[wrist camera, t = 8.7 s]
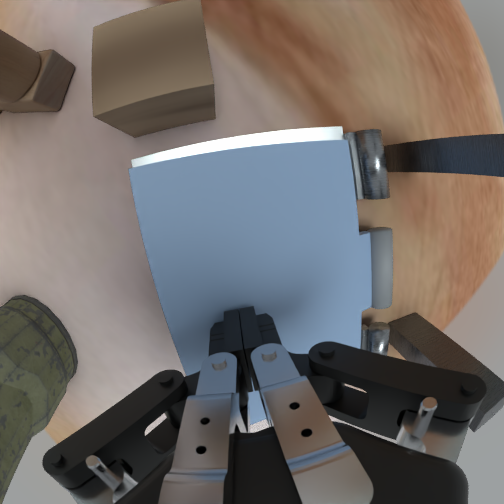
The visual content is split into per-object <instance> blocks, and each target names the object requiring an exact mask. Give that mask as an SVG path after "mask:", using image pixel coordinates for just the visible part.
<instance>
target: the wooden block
mask: <svg viewBox="0 0 504 504" xmlns="http://www.w3.org/2000/svg"><path fill="white" fill-rule="evenodd" d="M74 68H75V66H74V65H73V64H72V63H70V62H69V61H68V60H66V59H65V58H64V57H62V56H61V55H60V54H58V53H57V52H56V51H54V50H45V51H40V52H36V51H34V50H33V49H31V48H30V47H28V46H26V45H25V44H23V43H22V42H20V41H18V40H17V39H15V38H13V37H12V36H10V35H8V34H7V33H5V32H3V31H2V30H0V113H1V111H2V110H5V111H9V112H12V113H17V112H41V111H58V110H59V109H60V108H61V104H62V101H63V98H64V95H65V92H66V90H67V87H68V84H69V81H70V79H71V76H72V74H73V71H74Z"/></svg>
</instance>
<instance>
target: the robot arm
mask: <svg viewBox="0 0 504 504" xmlns="http://www.w3.org/2000/svg"><path fill="white" fill-rule="evenodd" d="M239 312H240V314H239ZM251 378H252V379H251ZM252 382H253V385H252ZM344 384H348V385H351V386H354V387H357V388H360V389H363V390H364V391H366V392H367V393H365V392H362V391H359V390H356V389H353V388H350V387H347V386H344ZM253 386H254V390H255V391H259V394H260V398H261V403H262V406H263V409H264V413H265V416H266V419H267V422H268V425H269V428H266V429H264V430H261V431H258V432H255V433H250V406H249V402H248V401H249V395H248V392H253ZM486 391H487V387H486V384H485V382H484V381H483V380H482V379H481V378H480V377H479V376H477V375H474V374H469V373H463V372H458V371H453V370H448V369H443V368H438V367H433V366H428V365H424V364H419V363H415V362H410V361H406V360H402V359H398V358H394V357H390V356H386V355H382V354H378V353H374V352H370V351H366V350H363V349H359V348H355V347H352V346H348V345H345V344H341V343H338V342H333V341H325V342H320V343H318V344H315V345H314V346H312V347H311V348H310V350H309V352H308V354H295V353H291V352H288V351H287V350H286V348H285V347H284V346H282V343H281V340H280V337H279V335H278V332H277V329H276V326H275V324H274V321H273V318H272V317H271V316H270V315H268V314H267V313H264V314H259V315H256V313H255V309H254V306H249V307H244V308H239V310H238V309H234V310H229V311H224V321H223V322H217V323H214V325H213V326H212V327H211V329H210V341H209V354H208V357H207V358H206V359H205V360H204V361H203V363H202V366H201V370H200V371H198V372H196V373H194V374H191V375H188V376H185V377H184V376H183V374H182V373H181V372H179V371H177V370H165V371H162V372H160V373H158V374H156V375H155V376H153V377H152V378H151V379H149V380H148V381H147V382H145V383H144V384H143V385H141V386H140V387H139V388H137V389H136V390H134V391H133V392H132V393H130V394H129V395H128V396H126V397H125V398H124V399H122V400H121V401H119V402H118V403H117V404H115V405H114V406H112V407H111V408H110V409H108V410H107V411H105V412H104V413H103V414H101V415H100V416H98V417H97V418H95V419H94V420H93V421H91V422H90V423H88V424H87V425H85V426H84V427H82V428H81V429H79V430H78V431H76V432H75V433H74V434H72V435H71V436H69V437H68V438H66V439H65V440H63V441H62V442H60V443H58V444H57V445H55V446H54V447H52V448H51V449H49V450H48V451H47V452H46V454H45V455H44V457H43V467H44V470H45V471H46V472H47V473H48V474H49V475H51V476H52V477H53V478H54V479H55V480H56V481H57V482H59V484H60V485H61V486H62V487H63V488H65V489H66V490H67V491H68V492H70V494H71V495H72V496H73V498H74V499H75V501H76V502H77V503H78V504H468V481H467V478H466V475H465V474H464V472H463V471H462V469H461V468H460V467H459V466H457V465H456V461H457V459H458V456H459V453H460V451H461V448H462V445H463V442H464V439H465V436H466V433H467V430H468V426H469V425H470V423H471V421H472V419H473V418H474V416H475V414H476V412H477V410H478V408H479V406H480V405H481V403H482V401H483V399H484V397H485V394H486ZM163 413H165V415H166V416H167V418H166V419H165V420H164V421H163V422H162V423H160V424H159V425H158V426H157V427H156V428H154V429H153V430H152V431H151V432H150V433H148V434H147V435H146V436H145V430H146V428H147V427H148V426H149V425H150V424H151V423H152V422H154V421H155V420H156V419H157V418H158V417H160V416H161V415H162V414H163ZM328 415H330V416H332V417H335V418H337V419H339V420H342V421H345V422H347V423H349V424H352V425H355V426H357V427H360V428H363V429H365V430H368V431H371V432H374V433H377V434H380V435H382V436H385V437H388V438H392V439H395V440H396V441H397V444H395V443H393V442H390V441H387V440H385V439H382V438H379V437H376V436H374V435H372V434H369V433H366V432H364V431H362V430H359V429H357V428H355V427H352V426H350V425H347V424H344V423H339V422H333V421H331V419H330V418H329V416H328Z"/></svg>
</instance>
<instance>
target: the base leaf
mask: <svg viewBox="0 0 504 504" xmlns="http://www.w3.org/2000/svg"><path fill="white" fill-rule="evenodd" d="M321 140H348V145H349V151H350V158H351V164H352V171H353V179H354V186H355V195H356V199H385V198H389V197H390V192H389V182H388V173H387V172H435V173H458V174H474V175H487V176H498V177H504V134H488V135H472V136H459V137H449V138H439V139H430V140H422V141H414V142H407V143H400V144H394V145H387V146H384V145H383V139H382V134H381V130H378V129H370V130H361V131H357V132H348V133H346V134H343V130H342V126H340V127H319V128H305V129H293V130H283V131H274V132H265V133H258V134H250V135H244V136H237V137H231V138H225V139H219V140H214V141H209V142H203V143H198V144H194V145H189V146H184V147H180V148H175V149H171V150H167V151H163V152H159V153H155V154H151V155H147V156H144V157H140V158H137V159H133V160H131V161H132V167H133V168H134V167H138V166H142V165H146V164H150V163H155V162H159V161H164V160H169V159H174V158H179V157H184V156H189V155H195V154H201V153H206V152H213V151H219V150H226V149H233V148H240V147H248V146H257V145H266V144H277V143H289V142H303V141H321ZM388 343H390V344H391V345H392V346H393V347H394V348H395V349H396V350H397V351H398V352H399V353H400V354H401V355H402V356H403V357H404V358H405V359H406V360H407V361H410V362H415V363H419V364H424V365H428V366H433V367H438V368H443V369H448V370H453V371H458V372H463V373H469V374H474V375H477V376H479V377H480V378H481V379H482V380H483V381H484V382H485V384H486V387H487V391H486V394H485V397H484V399H483V401H482V403H481V405H480V406H479V408H478V410H477V412H476V414H475V416H474V418H473V419H472V421H471V423H470V425H469V427H470V429H471V430H472V431H473V432H475V431H476V430H477V429H479V428H480V427H481V426H482V425H484V424H485V423H486V422H487V421H488V420H489V419H490V418H492V417H493V416H494V415H495V414H496V413H497V412H498V411H499V410H500V409H501V408H502V407H503V405H504V381H502V380H501V379H500V378H499V377H498V376H497V375H495V374H494V373H493V372H492V371H491V370H489V369H488V368H487V367H486V366H484V365H483V364H482V363H481V362H480V361H478V360H477V359H476V358H475V357H473V356H472V355H471V354H470V353H468V352H467V351H466V350H465V349H463V348H462V347H461V346H460V345H458V344H457V343H456V342H454V341H453V340H452V339H450V338H449V337H448V336H447V335H445V334H444V333H443V332H441V331H440V330H439V329H437V328H436V327H435V326H433V325H432V324H431V323H429V322H428V321H427V320H425V319H424V318H423V317H421V316H420V315H419V314H417V313H413V314H411V315H408V316H406V317H403V318H400V319H398V320H395V321H392V322H390V323H389V325H388V324H387V323H384V322H375V323H372V324H371V325H370V326H369V328H368V327H367V326H366V325H365V324H364V325H361V346H360V349H363V350H366V351H370V352H374V353H378V354H382V355H386V356H387V351H388Z"/></svg>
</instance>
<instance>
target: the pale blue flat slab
mask: <svg viewBox="0 0 504 504" xmlns="http://www.w3.org/2000/svg"><path fill="white" fill-rule="evenodd" d="M129 175H130V181H131V187H132V192H133V197H134V202H135V207H136V212H137V216H138V221H139V225H140V230H141V234H142V238H143V242H144V246H145V250H146V254H147V258H148V262H149V265H150V269H151V273H152V276H153V280H154V283H155V287H156V290H157V293H158V297H159V300H160V303H161V306H162V309H163V312H164V315H165V318H166V321H167V324H168V327H169V330H170V333H171V336H172V339H173V341H174V344H175V347H176V350H177V352H178V355H179V358H180V360H181V363H182V365H183V368H184V371H185V373H186V375H187V376H188V375H191V374H194V373H196V372H198V371H200V370H201V366H202V363H203V361H204V360H205V359H206V358H207V357H208V354H209V341H210V329H211V327H212V326H213V325H214V323H217V322H223V321H224V311H229V310H234V309H238V310H239V308H244V307H249V306H254V309H255V313H256V315H259V314H264V313H267V314H268V315H270V316H271V317H272V318H273V321H274V324H275V326H276V329H277V332H278V335H279V337H280V340H281V343H282V346H284V347H285V348H286V350H287V351H288V352H291V353H295V354H308V352H309V350H310V348H311V347H312V346H314V345H315V344H318V343H320V342H325V341H333V342H338V343H341V344H345V345H348V346H352V347H355V348H359V349H360V346H361V314H362V311H364V310H366V309H368V308H370V307H372V308H375V309H385V308H388V307H390V306H391V304H392V287H393V238H392V229H391V228H387V227H376V228H371V229H368V230H367V231H362V232H359V226H358V214H357V204H356V195H355V186H354V179H353V171H352V164H351V158H350V151H349V145H348V140H321V141H303V142H289V143H277V144H266V145H257V146H248V147H240V148H233V149H226V150H219V151H213V152H206V153H201V154H195V155H189V156H184V157H179V158H174V159H169V160H164V161H159V162H155V163H150V164H146V165H142V166H138V167H134V168H130V169H129ZM239 314H240V312H239ZM251 379H252V378H251ZM252 385H253V382H252ZM248 395H249V401H248V402H249V406H250V425H251V424H254V423H257V422H259V421H262V420H265V419H266V416H265V413H264V409H263V406H262V403H261V398H260V394H259V391H255V390H254V386H253V392H248Z"/></svg>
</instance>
